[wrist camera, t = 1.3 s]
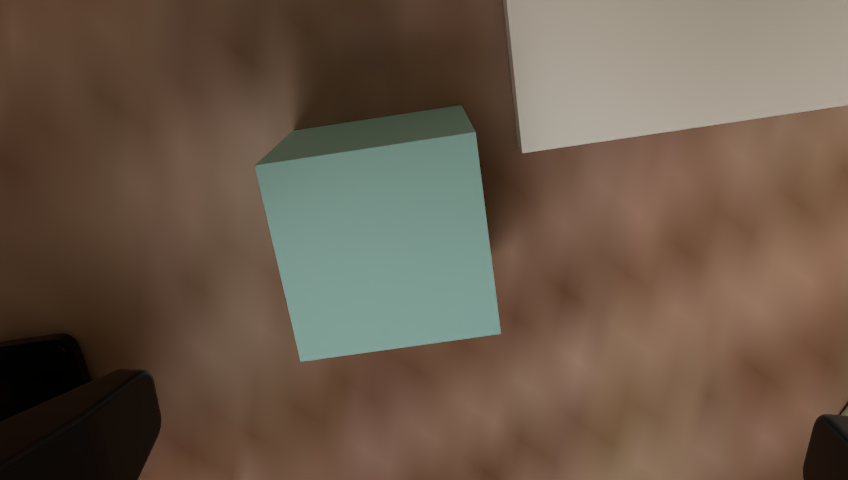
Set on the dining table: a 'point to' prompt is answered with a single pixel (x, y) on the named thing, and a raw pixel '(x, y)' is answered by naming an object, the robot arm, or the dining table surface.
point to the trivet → (668, 65)
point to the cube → (381, 233)
